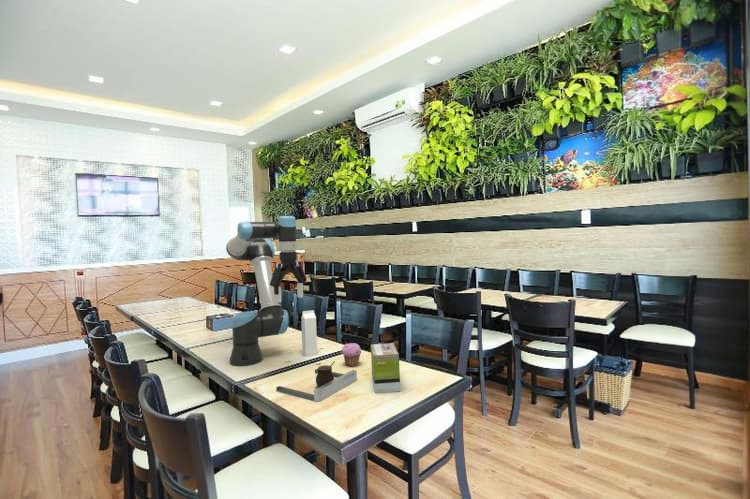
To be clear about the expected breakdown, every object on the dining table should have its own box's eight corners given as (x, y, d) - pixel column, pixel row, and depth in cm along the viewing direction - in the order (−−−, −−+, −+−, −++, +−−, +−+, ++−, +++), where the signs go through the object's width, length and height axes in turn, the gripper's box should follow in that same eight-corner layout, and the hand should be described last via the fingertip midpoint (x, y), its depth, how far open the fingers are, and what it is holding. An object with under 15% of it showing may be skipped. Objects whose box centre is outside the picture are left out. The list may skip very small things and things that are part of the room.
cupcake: (338, 365, 181) (337, 343, 180) (352, 360, 187) (351, 339, 187) (351, 369, 175) (351, 347, 174) (365, 364, 181) (364, 342, 181)
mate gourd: (313, 385, 156) (312, 360, 156) (332, 382, 159) (331, 358, 159) (318, 392, 150) (317, 366, 149) (337, 388, 153) (336, 363, 152)
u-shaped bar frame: (276, 391, 152) (276, 380, 152) (317, 372, 172) (316, 363, 172) (318, 402, 141) (318, 391, 141) (356, 380, 161) (356, 370, 161)
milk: (302, 353, 201) (300, 310, 200) (313, 351, 204) (312, 309, 203) (305, 356, 195) (304, 312, 195) (317, 354, 198) (315, 310, 197)
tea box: (371, 379, 162) (370, 343, 162) (395, 377, 163) (394, 342, 163) (374, 393, 147) (373, 354, 147) (400, 392, 148) (399, 353, 148)
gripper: (272, 252, 160) (274, 304, 161) (313, 250, 182) (314, 296, 182) (260, 252, 164) (261, 303, 165) (301, 250, 185) (302, 295, 186)
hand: (289, 299), depth 174 cm, fingers open, 13 cm apart
